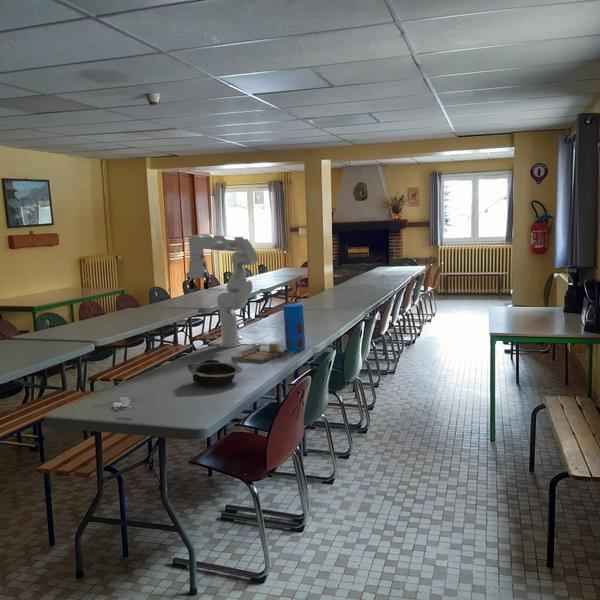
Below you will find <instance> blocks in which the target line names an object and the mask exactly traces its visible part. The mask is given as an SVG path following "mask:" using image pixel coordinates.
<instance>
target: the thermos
mask: <svg viewBox="0 0 600 600" xmlns="http://www.w3.org/2000/svg"><path fill="white" fill-rule="evenodd" d="M304 319H305V318H304V306H303V303H288V304H284V305H283V323H284V336H285V337H284V340H285V341H284V342H285V351H287V352H294V353H295V352H301V351H305V350H306V339H305V322H304V321H305V320H304Z"/></svg>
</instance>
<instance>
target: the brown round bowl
mask: <svg viewBox="0 0 600 600" xmlns="http://www.w3.org/2000/svg"><path fill="white" fill-rule="evenodd" d="M187 368H188V372H189V373H191V374H192V381H193V382H194V383H197V384H199V386H200V387H203V388H215V387H225V386H227V385H229V384H231V383H232V382H233V380H234V378H235V377H236V375H239V374H240V373H242V371H243V367H241V366H239V365H238V364H235V363H231V362H221V361H219V360H217V359H211V358H210V359H206V360H204V361H201V362H200V363H197V362H196V363H190V364H187Z"/></svg>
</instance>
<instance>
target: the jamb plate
mask: <svg viewBox="0 0 600 600" xmlns="http://www.w3.org/2000/svg"><path fill="white" fill-rule="evenodd" d="M284 354H285V353H284V350H282V351H281V350H279V352H271V351H270V349H269V350H268V349H260V351H256V352H253V353H251V354H248V355H245V356H243V357H237V354H236V355H233V356H231V357H230V358H231V361H232V362H240V363H250V364H251V363H254V364H263V365H264V364H267V362H270V361H273V360H276V359H278V358H280V357H282V356H284Z"/></svg>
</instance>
